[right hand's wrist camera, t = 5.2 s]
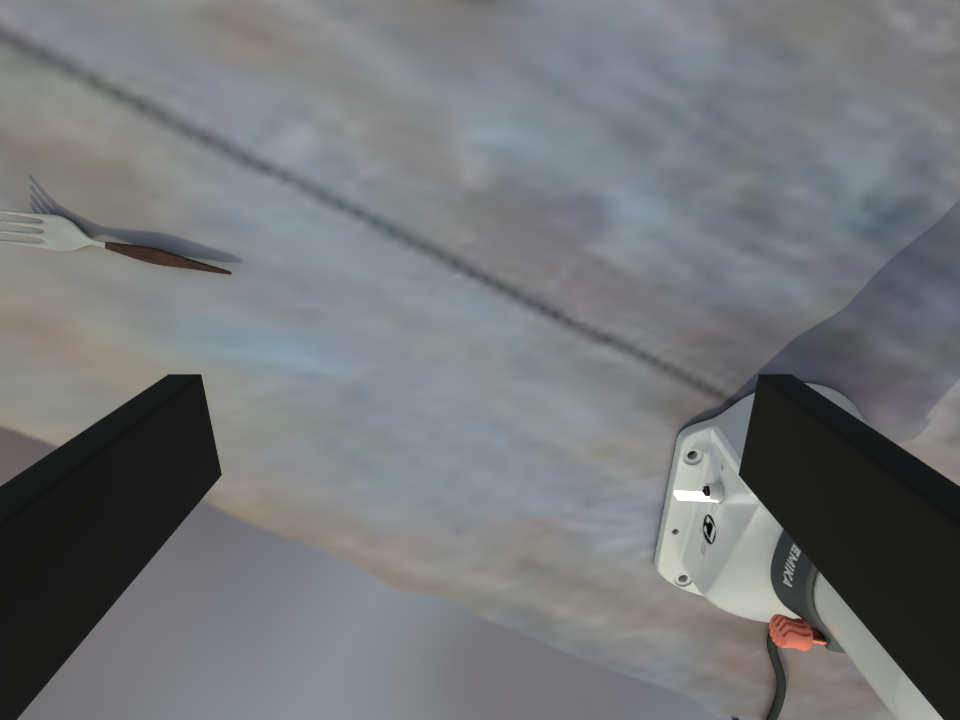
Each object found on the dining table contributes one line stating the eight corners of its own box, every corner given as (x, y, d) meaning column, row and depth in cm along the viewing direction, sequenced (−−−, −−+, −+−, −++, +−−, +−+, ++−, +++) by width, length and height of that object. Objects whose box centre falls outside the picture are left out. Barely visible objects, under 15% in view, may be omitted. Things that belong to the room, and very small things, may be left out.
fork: (233, 288, 39) (221, 294, 38) (15, 240, 38) (-9, 243, 36) (235, 255, 39) (223, 259, 37) (12, 204, 37) (-13, 206, 35)
